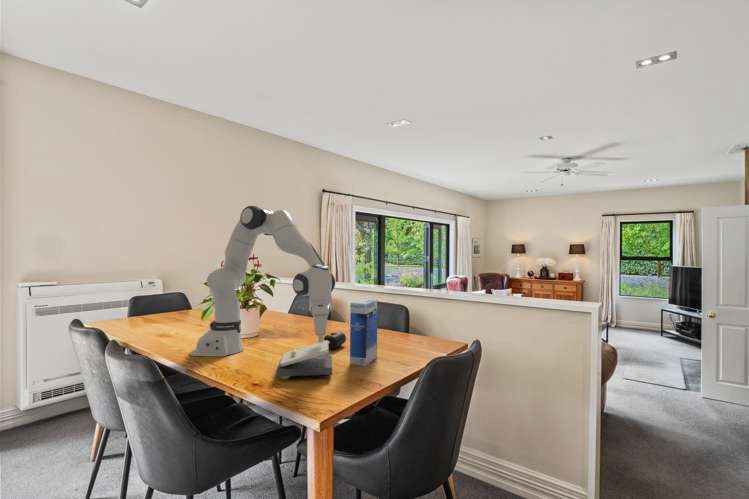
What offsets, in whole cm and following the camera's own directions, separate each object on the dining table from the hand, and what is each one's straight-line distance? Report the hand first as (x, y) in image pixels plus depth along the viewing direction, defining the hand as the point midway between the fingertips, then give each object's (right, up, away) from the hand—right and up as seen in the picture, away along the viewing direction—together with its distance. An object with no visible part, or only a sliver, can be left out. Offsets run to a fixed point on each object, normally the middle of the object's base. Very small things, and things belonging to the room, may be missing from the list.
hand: (320, 341), depth 144 cm
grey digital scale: (-6, -12, -1) cm, 13 cm away
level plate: (-6, -5, -1) cm, 8 cm away
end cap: (+2, -12, +34) cm, 37 cm away
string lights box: (+16, -12, +14) cm, 25 cm away
